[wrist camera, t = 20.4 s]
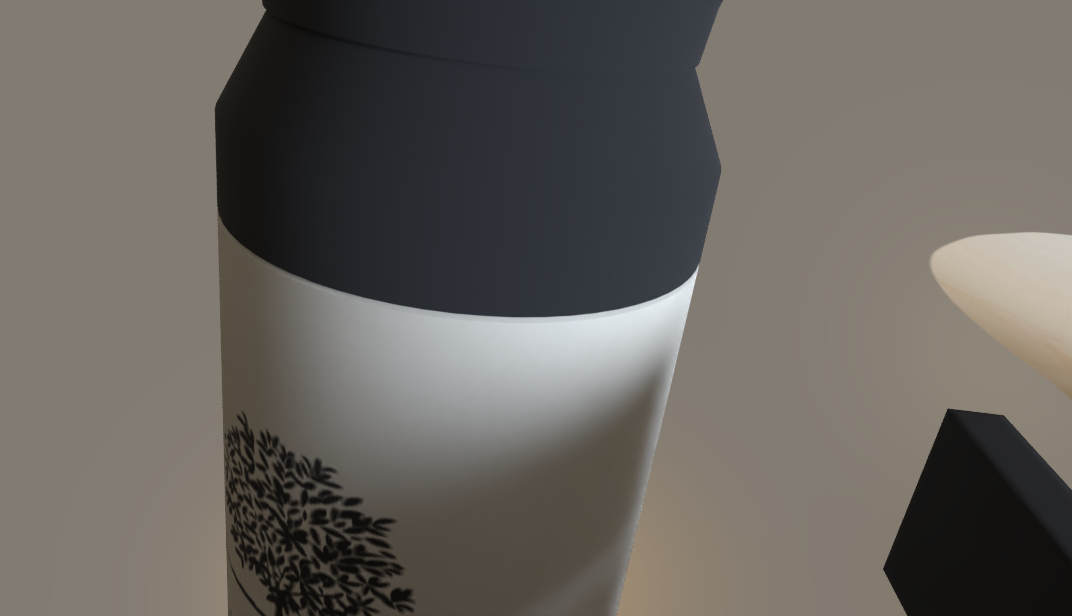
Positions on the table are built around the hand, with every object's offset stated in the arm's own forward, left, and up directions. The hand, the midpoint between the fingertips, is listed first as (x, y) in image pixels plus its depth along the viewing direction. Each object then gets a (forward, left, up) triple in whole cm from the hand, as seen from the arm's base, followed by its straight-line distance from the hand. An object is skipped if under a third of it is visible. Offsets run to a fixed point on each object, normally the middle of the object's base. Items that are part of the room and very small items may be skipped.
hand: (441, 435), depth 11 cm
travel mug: (0, -4, -12) cm, 13 cm away
